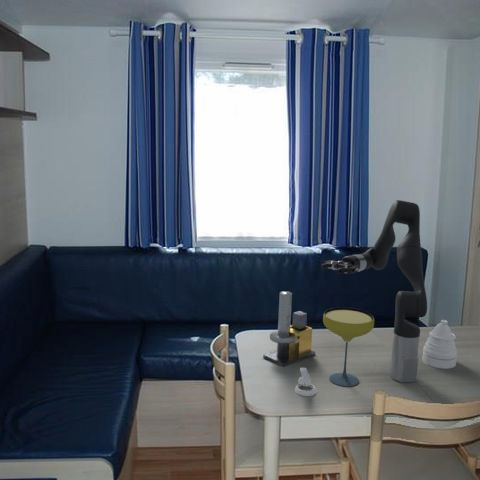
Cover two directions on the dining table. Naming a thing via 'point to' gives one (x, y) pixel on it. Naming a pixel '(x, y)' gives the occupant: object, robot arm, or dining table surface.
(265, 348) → the dining table surface
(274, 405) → the dining table surface
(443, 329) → the honey pot
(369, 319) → the cocktail glass
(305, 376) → the white vr controller
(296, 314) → the grey square peg
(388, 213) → the robot arm
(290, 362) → the flanged pole stand
